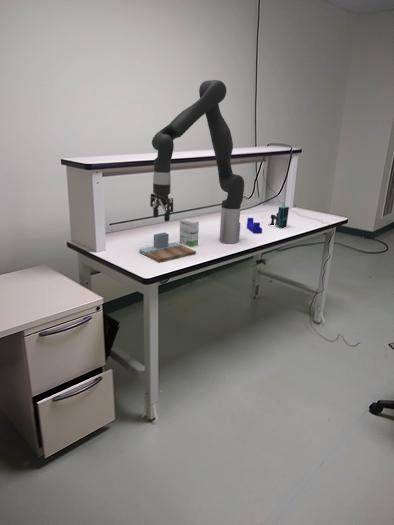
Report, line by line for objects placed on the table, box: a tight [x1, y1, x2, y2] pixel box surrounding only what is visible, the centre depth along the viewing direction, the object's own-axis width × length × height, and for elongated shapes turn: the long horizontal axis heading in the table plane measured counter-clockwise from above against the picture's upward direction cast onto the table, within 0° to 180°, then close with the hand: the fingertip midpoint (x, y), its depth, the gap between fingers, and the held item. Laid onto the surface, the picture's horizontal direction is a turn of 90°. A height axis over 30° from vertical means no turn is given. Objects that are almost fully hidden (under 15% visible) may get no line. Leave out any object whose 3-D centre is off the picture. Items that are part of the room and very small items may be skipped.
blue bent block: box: [246, 217, 263, 235], centre depth 222 cm, size 12×4×6 cm, turn 12°
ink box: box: [179, 218, 200, 248], centre depth 193 cm, size 9×5×12 cm, turn 46°
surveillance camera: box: [267, 206, 290, 229], centre depth 233 cm, size 6×12×10 cm
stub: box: [138, 232, 182, 256], centre depth 182 cm, size 20×5×8 cm, turn 130°
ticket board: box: [145, 244, 197, 264], centre depth 177 cm, size 20×10×2 cm, turn 130°
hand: (161, 219), depth 178 cm, fingers open, 8 cm apart
